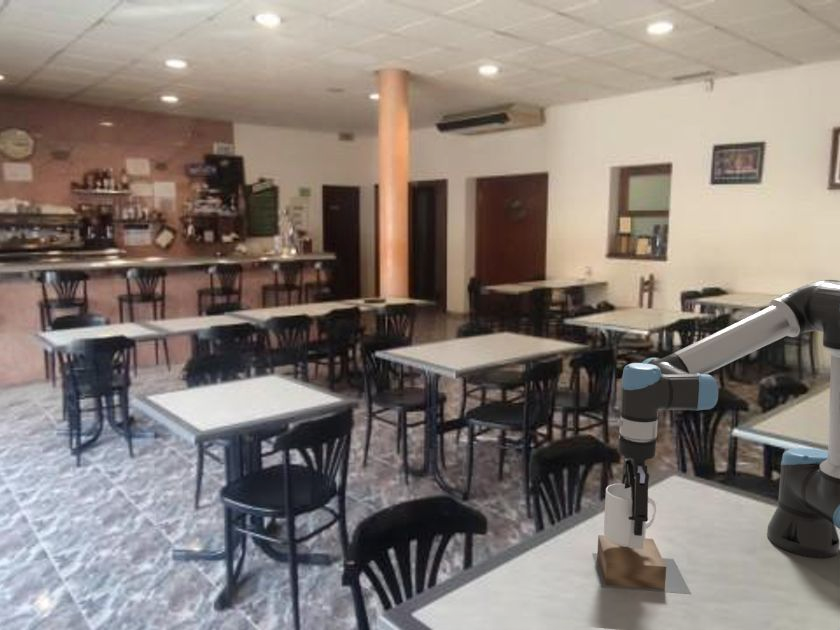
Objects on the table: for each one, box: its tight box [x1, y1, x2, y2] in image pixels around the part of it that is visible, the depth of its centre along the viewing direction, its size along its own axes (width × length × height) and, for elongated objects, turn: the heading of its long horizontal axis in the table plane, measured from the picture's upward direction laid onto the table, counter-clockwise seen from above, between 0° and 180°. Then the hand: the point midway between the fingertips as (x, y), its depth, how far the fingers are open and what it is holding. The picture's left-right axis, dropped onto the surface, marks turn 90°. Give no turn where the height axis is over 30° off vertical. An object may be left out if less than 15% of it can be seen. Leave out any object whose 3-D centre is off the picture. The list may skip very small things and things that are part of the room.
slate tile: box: [591, 552, 692, 595], centre depth 140 cm, size 18×14×1 cm
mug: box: [603, 483, 657, 547], centre depth 139 cm, size 9×12×11 cm
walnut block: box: [596, 534, 666, 589], centre depth 140 cm, size 12×12×5 cm
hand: (631, 536), depth 139 cm, fingers closed on mug, 9 cm apart
